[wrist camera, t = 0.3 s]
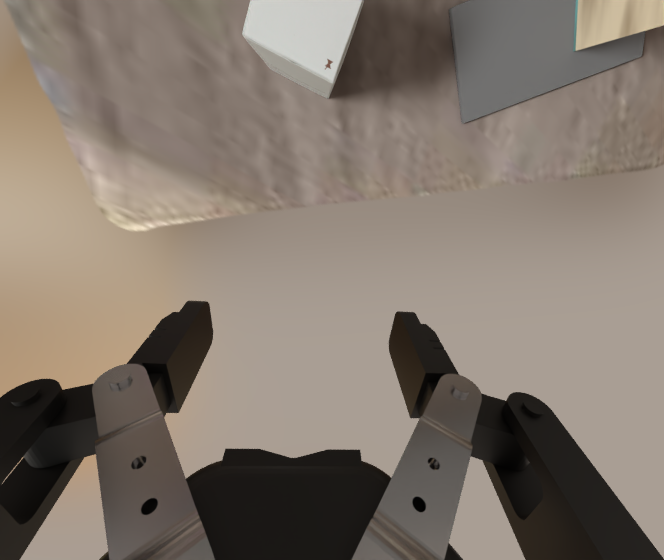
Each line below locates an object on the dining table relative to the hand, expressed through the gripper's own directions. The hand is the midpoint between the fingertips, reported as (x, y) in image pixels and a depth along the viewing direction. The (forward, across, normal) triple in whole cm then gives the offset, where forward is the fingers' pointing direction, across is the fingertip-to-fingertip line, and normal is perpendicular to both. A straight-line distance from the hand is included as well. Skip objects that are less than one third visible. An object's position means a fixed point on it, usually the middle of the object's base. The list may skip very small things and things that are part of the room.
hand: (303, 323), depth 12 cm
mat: (+29, -24, -18) cm, 42 cm away
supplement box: (+29, +1, -15) cm, 33 cm away
